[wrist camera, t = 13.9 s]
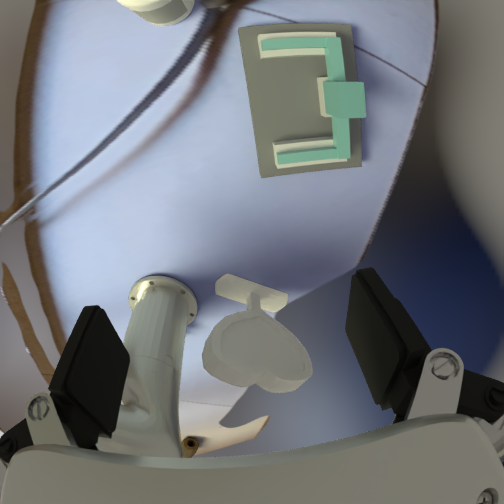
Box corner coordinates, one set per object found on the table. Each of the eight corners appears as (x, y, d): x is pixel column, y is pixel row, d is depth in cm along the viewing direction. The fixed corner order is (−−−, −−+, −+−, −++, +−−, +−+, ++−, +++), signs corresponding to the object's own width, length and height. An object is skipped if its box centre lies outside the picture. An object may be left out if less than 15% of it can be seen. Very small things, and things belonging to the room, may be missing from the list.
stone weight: (195, 447, 95) (194, 461, 89) (178, 445, 93) (177, 459, 88) (199, 437, 87) (199, 452, 81) (180, 434, 86) (179, 450, 80)
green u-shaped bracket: (350, 154, 33) (367, 165, 29) (277, 162, 33) (284, 174, 29) (340, 39, 25) (358, 34, 21) (260, 41, 25) (265, 34, 21)
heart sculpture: (297, 297, 51) (320, 382, 36) (283, 315, 53) (300, 398, 38) (216, 269, 46) (212, 361, 31) (205, 290, 49) (198, 381, 34)
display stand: (356, 162, 38) (367, 171, 35) (260, 173, 38) (263, 183, 35) (344, 27, 27) (356, 22, 24) (238, 30, 27) (238, 24, 24)
